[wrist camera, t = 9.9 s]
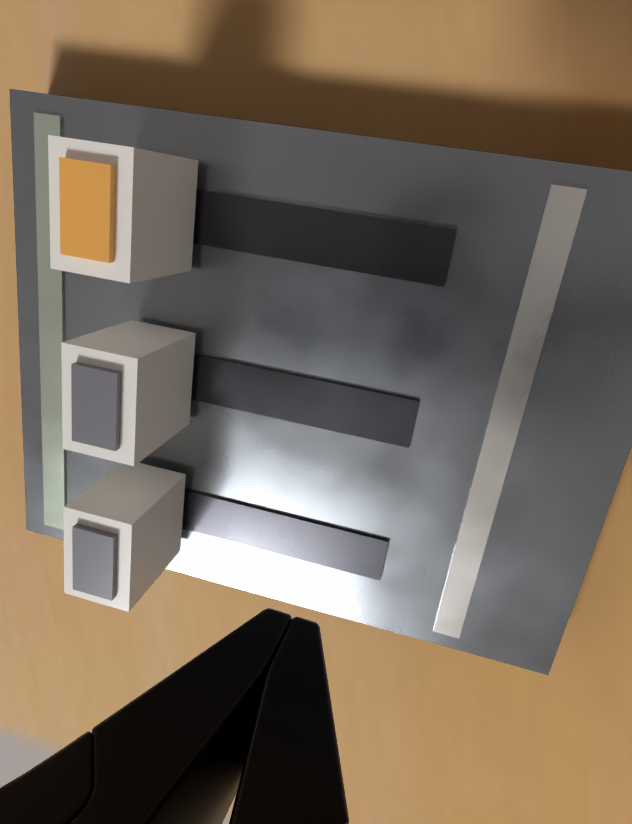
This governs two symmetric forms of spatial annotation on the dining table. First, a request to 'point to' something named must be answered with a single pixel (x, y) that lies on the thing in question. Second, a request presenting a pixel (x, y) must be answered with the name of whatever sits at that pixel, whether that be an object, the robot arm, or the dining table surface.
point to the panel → (361, 368)
